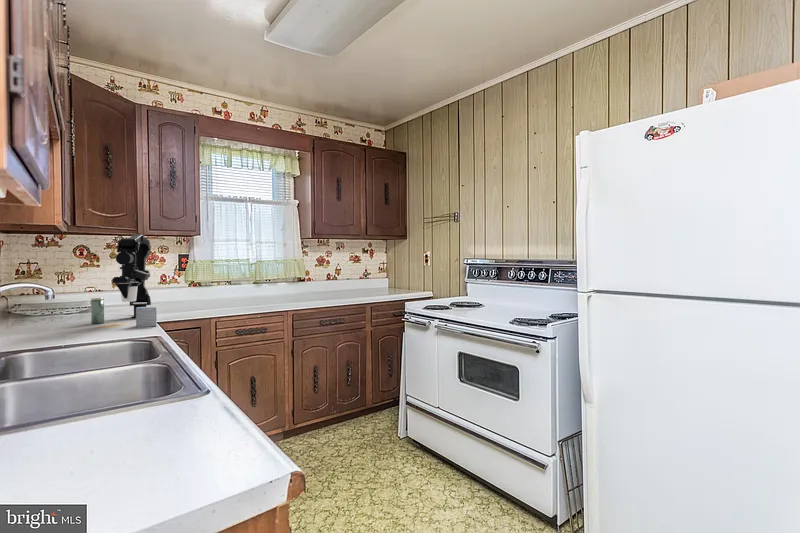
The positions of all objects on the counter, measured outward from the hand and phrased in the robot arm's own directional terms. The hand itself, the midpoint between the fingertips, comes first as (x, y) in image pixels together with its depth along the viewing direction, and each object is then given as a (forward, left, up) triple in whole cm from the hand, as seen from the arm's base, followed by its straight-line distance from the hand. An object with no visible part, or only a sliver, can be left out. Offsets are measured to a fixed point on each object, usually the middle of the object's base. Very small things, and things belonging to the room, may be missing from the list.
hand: (129, 297), depth 201 cm
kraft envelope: (+9, -2, -12) cm, 15 cm away
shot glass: (0, 0, -2) cm, 2 cm away
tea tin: (+2, -12, -12) cm, 17 cm away
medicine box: (+12, +13, -12) cm, 21 cm away
